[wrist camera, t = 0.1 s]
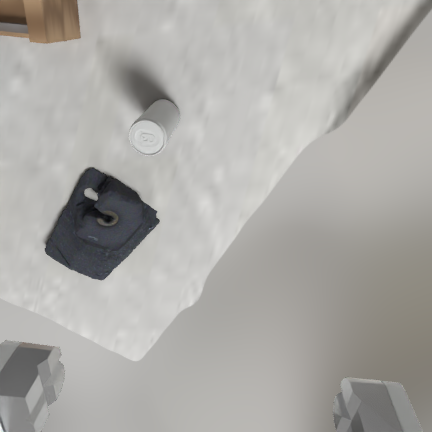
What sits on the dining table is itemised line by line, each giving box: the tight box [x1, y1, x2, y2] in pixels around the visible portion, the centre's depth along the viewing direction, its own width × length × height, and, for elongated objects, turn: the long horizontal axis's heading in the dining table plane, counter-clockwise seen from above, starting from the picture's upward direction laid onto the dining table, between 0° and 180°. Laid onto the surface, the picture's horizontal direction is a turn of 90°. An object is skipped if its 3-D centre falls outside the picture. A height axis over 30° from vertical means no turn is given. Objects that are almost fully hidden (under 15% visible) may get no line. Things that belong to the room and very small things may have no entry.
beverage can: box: [129, 99, 180, 156], centre depth 50 cm, size 5×5×12 cm
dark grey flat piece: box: [45, 168, 160, 280], centre depth 64 cm, size 15×22×5 cm
